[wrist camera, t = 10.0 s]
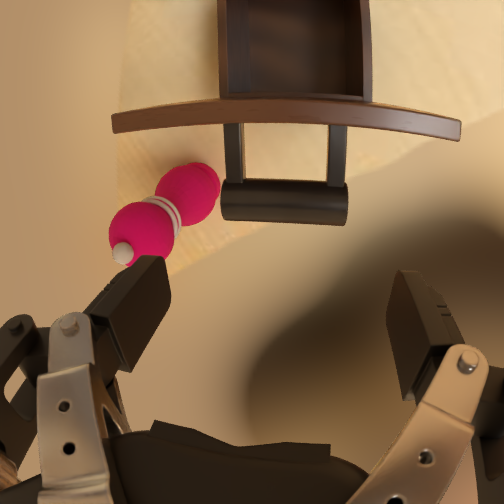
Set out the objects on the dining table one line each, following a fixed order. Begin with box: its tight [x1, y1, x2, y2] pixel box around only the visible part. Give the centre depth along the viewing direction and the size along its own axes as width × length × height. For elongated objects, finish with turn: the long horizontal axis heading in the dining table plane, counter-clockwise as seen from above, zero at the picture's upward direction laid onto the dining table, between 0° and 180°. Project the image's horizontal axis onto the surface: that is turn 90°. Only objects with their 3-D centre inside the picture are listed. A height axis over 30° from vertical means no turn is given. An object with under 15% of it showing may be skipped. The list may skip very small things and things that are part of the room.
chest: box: [217, 0, 372, 102], centre depth 24 cm, size 15×13×12 cm
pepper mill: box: [109, 162, 220, 267], centre depth 31 cm, size 7×7×20 cm
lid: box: [111, 96, 461, 226], centre depth 17 cm, size 15×13×5 cm
